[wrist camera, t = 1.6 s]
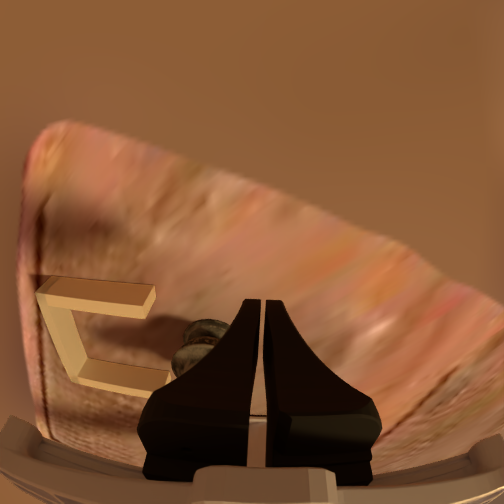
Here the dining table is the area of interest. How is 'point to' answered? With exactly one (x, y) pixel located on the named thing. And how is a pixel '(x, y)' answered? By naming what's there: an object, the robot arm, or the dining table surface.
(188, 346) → the dark bronze turned piece
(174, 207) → the dining table surface
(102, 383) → the holder
